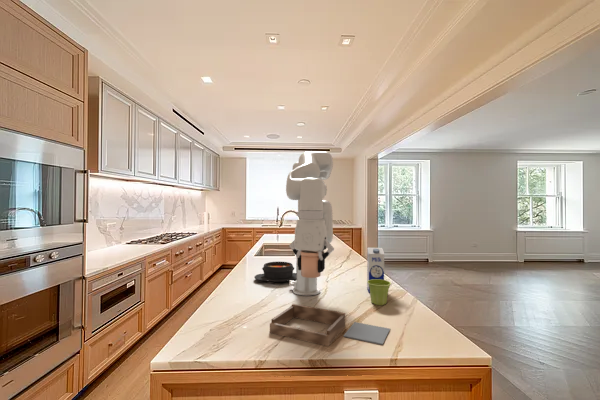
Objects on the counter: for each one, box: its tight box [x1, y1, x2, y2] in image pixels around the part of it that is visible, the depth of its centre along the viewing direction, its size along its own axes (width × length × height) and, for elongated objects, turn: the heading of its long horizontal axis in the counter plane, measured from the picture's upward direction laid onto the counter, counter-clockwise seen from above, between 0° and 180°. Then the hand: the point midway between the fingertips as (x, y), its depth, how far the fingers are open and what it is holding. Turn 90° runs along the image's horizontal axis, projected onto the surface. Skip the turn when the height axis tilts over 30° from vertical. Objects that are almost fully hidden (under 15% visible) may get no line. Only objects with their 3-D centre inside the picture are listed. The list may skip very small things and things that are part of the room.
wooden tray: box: [269, 303, 346, 347], centre depth 103 cm, size 20×16×4 cm
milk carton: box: [366, 247, 385, 294], centre depth 146 cm, size 7×7×20 cm
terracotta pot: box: [300, 251, 322, 278], centre depth 102 cm, size 7×7×8 cm
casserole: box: [254, 261, 296, 284], centre depth 164 cm, size 25×19×8 cm
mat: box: [343, 321, 391, 346], centre depth 100 cm, size 12×12×1 cm
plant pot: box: [366, 279, 392, 306], centre depth 129 cm, size 9×9×9 cm
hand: (310, 270), depth 102 cm, fingers closed on terracotta pot, 6 cm apart
